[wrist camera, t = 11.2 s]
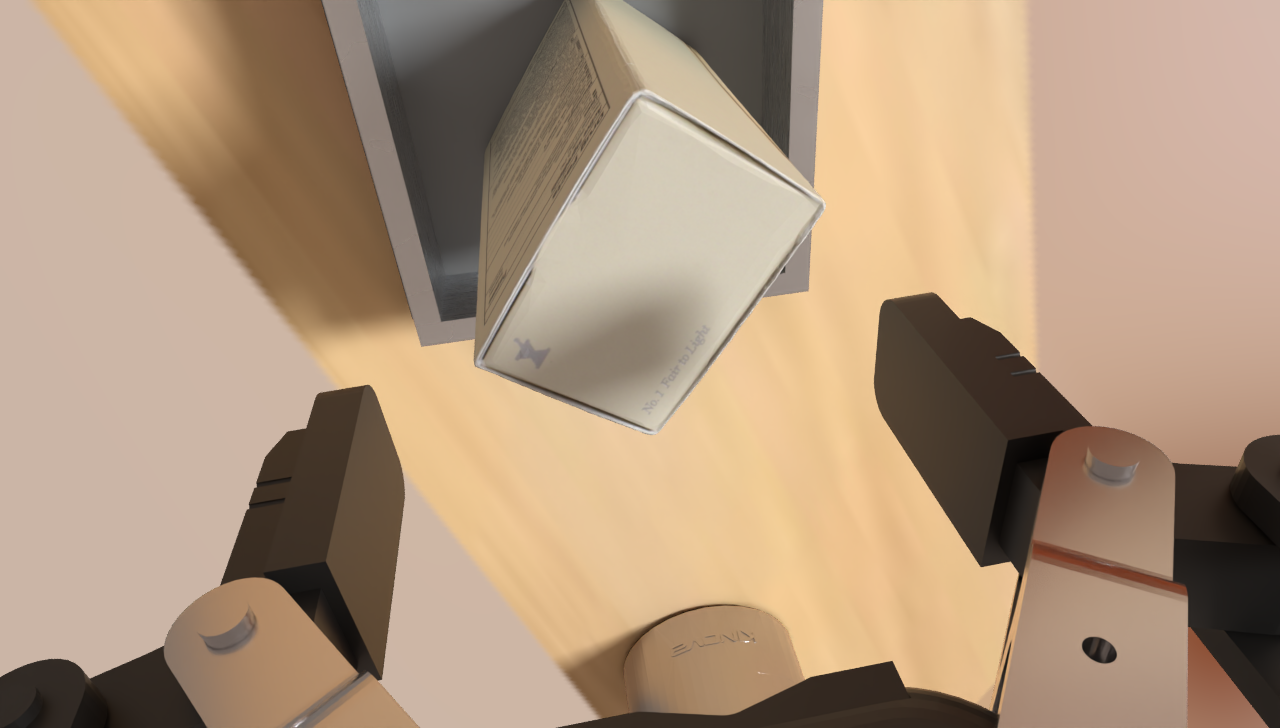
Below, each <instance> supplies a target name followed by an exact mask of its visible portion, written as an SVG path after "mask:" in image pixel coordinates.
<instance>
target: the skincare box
mask: <svg viewBox="0 0 1280 728" xmlns="http://www.w3.org/2000/svg"><path fill="white" fill-rule="evenodd" d="M825 207H826V203H825V201H824V200H823V199H822V197H821V196H820V195H819V194H818V193H817V192H816V191H815V190H814V188H813V187H812V186H811V185H810V183H809V182H808V181H807V180H806V179H805V178H804V177H803V176H802V174H801V173H800V172H799V171H798V170H797V169H796V168H795V166H794V165H793V164H792V163H791V161H790V160H789V159H788V158H787V157H786V155H785V154H784V153H783V152H782V151H781V150H780V148H779V147H778V146H777V145H776V144H775V142H774V141H773V140H772V139H771V138H770V137H769V136H768V134H767V133H766V132H765V131H764V130H763V128H762V127H761V126H760V125H759V124H758V123H757V122H756V120H755V119H754V118H753V117H752V116H751V115H750V114H749V112H748V111H747V110H746V109H745V107H744V106H743V105H742V104H741V103H740V102H739V101H738V100H737V98H736V97H735V96H734V95H733V94H732V92H731V91H730V90H729V89H728V88H727V87H726V85H725V84H724V83H723V82H722V81H721V79H720V78H719V77H718V76H717V75H716V73H715V72H714V71H713V70H712V69H711V68H710V66H709V65H708V64H707V62H706V61H705V60H704V59H703V58H702V56H701V55H700V54H699V53H698V52H697V51H696V50H695V49H694V48H692V47H691V46H689V45H688V44H686V43H685V42H683V41H682V40H681V39H679V38H678V37H676V36H675V35H674V34H672V33H671V32H669V31H668V30H666V29H665V28H663V27H662V26H661V25H659V24H658V23H656V22H655V21H653V20H652V19H650V18H649V17H647V16H645V15H644V14H642V13H641V12H639V11H638V10H636V9H635V8H633V7H632V6H630V5H629V4H627V3H626V2H624V1H623V0H564V2H563V4H562V5H561V7H560V9H559V11H558V12H557V14H556V16H555V18H554V20H553V21H552V23H551V25H550V27H549V29H548V31H547V32H546V34H545V36H544V38H543V40H542V42H541V43H540V45H539V47H538V49H537V51H536V53H535V54H534V56H533V58H532V60H531V62H530V64H529V66H528V68H527V70H526V71H525V73H524V75H523V77H522V79H521V81H520V83H519V85H518V86H517V88H516V90H515V92H514V94H513V96H512V98H511V100H510V102H509V104H508V106H507V108H506V110H505V112H504V114H503V116H502V118H501V120H500V122H499V124H498V126H497V128H496V130H495V132H494V134H493V136H492V138H491V140H490V142H489V144H488V146H487V148H486V150H485V154H484V177H483V194H482V211H481V233H480V237H481V238H480V251H479V269H478V289H477V313H476V326H475V350H474V364H475V366H476V367H478V368H480V369H483V370H486V371H488V372H491V373H494V374H496V375H499V376H500V377H503V378H505V379H507V380H510V381H512V382H515V383H517V384H519V385H522V386H525V387H527V388H530V389H532V390H534V391H536V392H540V393H542V394H544V395H546V396H548V397H551V398H554V399H556V400H559V401H562V402H564V403H567V404H569V405H572V406H574V407H577V408H579V409H582V410H584V411H586V412H588V413H591V414H594V415H596V416H599V417H602V418H605V419H607V420H610V421H613V422H615V423H618V424H621V425H623V426H626V427H629V428H632V429H635V430H637V431H640V432H642V433H645V434H649V435H655V434H657V433H658V432H659V431H660V430H661V429H662V428H663V427H664V425H665V424H666V423H667V422H668V420H669V419H670V418H671V417H672V416H673V415H674V413H675V412H676V411H677V409H678V408H679V407H680V406H681V404H682V403H683V402H684V401H685V400H686V399H687V397H688V396H689V395H690V393H691V392H692V391H693V389H694V388H695V387H696V385H697V384H698V383H699V381H700V380H701V379H702V378H703V376H704V375H705V374H706V373H707V371H708V370H709V368H710V367H711V366H712V364H713V363H714V362H715V360H716V359H717V358H718V357H719V355H720V354H721V353H722V351H723V350H724V349H725V347H726V346H727V345H728V343H729V342H730V341H731V340H732V338H733V337H734V335H735V334H736V332H737V331H738V329H739V328H740V327H741V325H742V324H743V323H744V321H745V320H746V319H747V318H748V316H749V315H750V314H751V313H752V311H753V309H754V308H755V306H756V305H757V304H758V303H759V301H760V300H761V298H762V297H763V296H764V294H765V293H766V292H767V290H768V289H769V288H770V286H771V285H772V284H773V282H774V281H775V280H776V278H777V277H778V275H779V274H780V272H781V271H782V269H783V268H784V266H785V265H786V264H787V262H788V261H789V260H790V258H791V257H792V256H793V254H794V253H795V252H796V250H797V249H798V247H799V246H800V245H801V243H802V242H803V241H804V239H805V238H806V237H807V235H808V234H809V232H810V231H811V229H812V228H813V226H814V225H815V223H816V222H817V220H818V219H819V218H820V216H821V215H822V213H823V212H824V210H825Z"/></svg>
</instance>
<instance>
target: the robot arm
mask: <svg viewBox="0 0 1280 728" xmlns="http://www.w3.org/2000/svg"><path fill="white" fill-rule="evenodd" d="M874 388H875V395H876V400H877V404H878V407H879V410H880V412H881V414H882V416H883V418H884V420H885V421H886V423H887V424H888V426H889V427H890V429H891V430H892V432H893V433H894V435H895V436H896V438H897V440H898V441H899V443H900V444H901V446H902V447H903V449H904V450H905V452H906V453H907V455H908V456H909V458H910V459H911V461H912V463H913V464H914V466H915V467H916V469H917V470H918V472H919V473H920V475H921V476H922V478H923V479H924V481H925V482H926V484H927V486H928V487H929V489H930V490H931V492H932V493H933V495H934V496H935V498H936V499H937V501H938V502H939V504H940V505H941V507H942V509H943V510H944V512H945V513H946V515H947V516H948V518H949V519H950V521H951V522H952V524H953V525H954V527H955V528H956V530H957V532H958V533H959V535H960V536H961V538H962V539H963V541H964V542H965V544H966V545H967V547H968V548H969V550H970V551H971V553H972V555H973V556H974V558H975V559H976V561H977V562H978V564H979V565H980V567H984V566H990V565H995V564H1000V563H1005V562H1010V561H1011V562H1012V564H1013V565H1014V567H1015V568H1016V570H1017V571H1018V572H1019V574H1018V578H1017V582H1016V586H1015V590H1014V595H1013V599H1012V604H1011V609H1010V614H1009V619H1008V623H1007V628H1006V633H1005V638H1004V642H1003V647H1002V652H1001V657H1000V662H999V666H998V671H997V676H996V681H995V686H994V690H993V695H992V699H991V703H990V708H989V710H988V709H986V708H983V707H982V706H979V705H977V704H975V703H972V702H970V701H967V700H964V699H962V698H959V697H956V696H952V695H949V694H945V693H941V692H937V691H932V690H926V689H920V688H910V687H904V684H903V682H902V680H901V678H900V676H899V674H898V672H897V670H896V668H895V665H894V663H893V661H890V662H885V663H880V664H875V665H870V666H865V667H860V668H855V669H849V670H844V671H839V672H834V673H829V674H824V675H819V676H814V677H810V678H808V679H806V680H805V679H804V676H803V673H802V670H801V667H800V665H799V662H798V659H797V656H796V653H795V650H794V648H793V645H792V642H791V639H790V636H789V633H788V631H787V630H786V628H785V627H784V626H783V624H782V623H781V622H780V621H778V620H777V619H776V618H774V617H773V616H772V615H770V614H767V613H765V612H762V611H760V610H758V609H753V608H748V607H743V606H715V607H705V608H701V609H697V610H693V611H689V612H685V613H683V614H680V615H678V616H675V617H672V618H670V619H668V620H666V621H664V622H662V623H661V624H659V625H657V626H655V627H654V628H652V629H651V630H650V631H649V632H647V633H646V634H645V635H643V636H642V637H641V638H640V639H639V640H638V641H637V643H636V644H635V645H634V646H633V647H632V648H631V650H630V652H629V654H628V656H627V658H626V660H625V665H624V670H623V673H624V680H625V687H626V695H627V702H628V709H629V713H628V714H623V715H618V716H613V717H608V718H603V719H598V720H593V721H588V722H583V723H578V724H573V725H568V726H563V727H558V728H1187V670H1188V668H1187V667H1188V664H1187V663H1188V662H1187V661H1188V627H1191V628H1192V630H1193V631H1194V632H1195V633H1196V635H1197V636H1198V637H1199V638H1200V640H1201V641H1202V643H1203V644H1204V645H1205V646H1206V648H1207V649H1208V650H1209V651H1210V653H1211V654H1212V655H1213V657H1214V658H1215V659H1216V660H1217V662H1218V663H1219V664H1220V666H1221V667H1222V668H1223V669H1224V671H1225V672H1226V673H1227V674H1228V676H1229V677H1230V678H1231V680H1232V681H1233V682H1234V684H1235V685H1236V686H1237V687H1238V689H1239V690H1240V691H1241V692H1242V694H1243V695H1244V696H1245V698H1246V699H1247V700H1248V701H1249V703H1250V704H1251V705H1252V707H1253V708H1254V709H1255V710H1256V712H1257V713H1258V714H1259V715H1260V717H1261V718H1262V719H1263V721H1264V722H1265V723H1266V724H1267V726H1268V727H1269V728H1280V435H1272V436H1266V437H1262V438H1259V439H1257V440H1254V441H1253V442H1251V443H1250V444H1249V445H1248V446H1247V447H1246V449H1245V451H1244V453H1243V456H1242V458H1241V460H1240V462H1239V465H1238V467H1231V466H1213V465H1195V464H1178V463H1171V461H1170V460H1169V458H1168V457H1167V456H1166V455H1165V454H1164V453H1163V452H1162V451H1161V450H1160V449H1159V448H1157V447H1156V446H1155V445H1154V444H1152V443H1150V442H1149V441H1146V440H1145V439H1143V438H1141V437H1139V436H1137V435H1135V434H1132V433H1129V432H1126V431H1123V430H1119V429H1115V428H1109V427H1100V426H1092V425H1091V424H1090V423H1089V422H1088V421H1087V420H1086V419H1085V418H1084V417H1083V416H1082V415H1081V414H1080V413H1079V412H1078V411H1077V410H1076V409H1075V408H1074V407H1073V406H1072V405H1071V404H1070V403H1069V402H1068V401H1067V400H1066V399H1065V398H1064V397H1063V396H1062V395H1061V394H1060V393H1059V392H1058V391H1057V389H1055V387H1054V386H1052V385H1051V383H1049V381H1048V380H1047V379H1045V377H1044V376H1043V375H1042V374H1041V373H1040V372H1039V373H1036V368H1035V367H1034V366H1033V365H1032V364H1031V363H1030V362H1029V361H1028V360H1027V359H1026V358H1025V357H1024V356H1020V352H1019V351H1018V350H1017V349H1016V348H1015V347H1014V346H1013V345H1012V344H1011V343H1010V342H1009V341H1008V340H1007V339H1006V338H1005V337H1004V336H1003V335H1002V334H1001V333H1000V332H998V331H996V330H994V329H993V328H991V327H989V326H987V325H985V324H983V323H981V322H979V321H977V320H975V319H973V318H971V317H970V318H964V319H959V318H958V316H957V315H956V314H955V313H954V312H953V311H952V310H951V309H950V308H949V307H948V306H947V305H946V304H945V302H944V301H943V300H942V299H941V298H940V297H939V296H938V295H937V294H935V293H932V292H931V293H925V294H919V295H913V296H907V297H901V298H895V299H889V300H885V301H884V302H883V304H882V306H881V309H880V316H879V327H878V339H877V351H876V363H875V375H874ZM404 491H405V489H404V479H403V473H402V468H401V464H400V461H399V457H398V455H397V452H396V449H395V446H394V444H393V441H392V438H391V435H390V432H389V430H388V427H387V424H386V421H385V418H384V416H383V413H382V410H381V407H380V404H379V402H378V399H377V396H376V394H375V392H374V390H373V388H372V387H371V386H370V385H364V386H358V387H352V388H346V389H340V390H334V391H329V392H323V393H319V394H318V395H317V396H316V398H315V401H314V405H313V408H312V412H311V415H310V418H309V421H308V425H307V428H306V429H300V430H295V431H288V432H287V433H286V434H285V435H284V436H283V437H282V439H281V440H280V441H279V442H278V443H277V444H276V445H275V447H274V448H273V449H272V450H271V451H270V452H269V453H268V455H267V456H266V457H265V459H264V462H263V465H262V468H261V471H260V474H259V476H258V479H257V488H254V491H253V494H252V496H251V500H250V502H249V509H248V510H247V511H246V513H245V516H244V519H243V522H242V525H241V528H240V530H239V533H238V536H237V539H236V542H235V545H234V548H233V550H232V553H231V556H230V559H229V562H228V565H227V567H226V571H225V573H224V576H223V579H222V582H221V585H220V586H219V587H217V588H214V589H213V590H211V591H209V592H207V593H206V594H204V595H202V596H201V597H200V598H198V599H197V600H195V601H194V602H193V603H192V604H191V605H190V606H188V607H187V608H186V609H185V610H184V611H183V612H182V613H181V615H180V616H179V617H178V618H177V620H176V621H175V622H174V623H173V625H172V627H171V629H170V630H169V632H168V634H167V637H166V640H165V645H164V646H162V647H160V648H158V649H156V650H154V651H152V652H150V653H148V654H146V655H143V656H141V657H139V658H136V659H134V660H132V661H130V662H127V663H125V664H123V665H120V666H118V667H116V668H113V669H111V670H109V671H106V672H104V673H102V674H100V675H97V676H95V677H93V678H91V679H89V678H88V676H87V675H86V674H85V673H84V671H83V670H82V669H81V668H80V667H79V666H78V665H76V664H75V663H73V662H71V661H69V660H63V659H48V660H42V661H37V662H34V663H30V664H27V665H25V666H23V667H20V668H17V669H15V670H13V671H11V672H9V673H7V674H5V675H3V676H2V677H0V728H420V727H419V726H418V725H417V724H416V723H415V722H414V721H413V720H412V719H411V717H410V716H409V715H408V714H407V713H406V712H405V711H404V710H403V708H402V707H401V706H400V705H399V704H398V703H397V702H396V701H395V699H393V697H392V696H391V695H390V694H389V693H388V692H387V691H386V689H385V688H384V687H383V686H382V685H381V684H380V683H379V682H378V680H382V675H383V667H384V658H385V650H386V643H387V634H388V627H389V619H390V610H391V603H392V595H393V587H394V580H395V572H396V563H397V556H398V548H399V540H400V531H401V524H402V516H403V507H404V499H405V492H404Z"/></svg>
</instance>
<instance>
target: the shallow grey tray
mask: <svg viewBox="0 0 1280 728" xmlns="http://www.w3.org/2000/svg"><path fill="white" fill-rule="evenodd" d="M322 1H323V5H324V8H325V12H326V15H327V19H328V22H329V26H330V29H331V33H332V36H333V40H334V43H335V47H336V50H337V54H338V57H339V60H340V64H341V67H342V71H343V74H344V78H345V81H346V85H347V88H348V92H349V95H350V99H351V102H352V106H353V109H354V113H355V116H356V120H357V123H358V127H359V130H360V134H361V137H362V141H363V144H364V148H365V151H366V155H367V158H368V162H369V165H370V169H371V172H372V176H373V179H374V183H375V186H376V190H377V193H378V197H379V200H380V204H381V207H382V211H383V214H384V218H385V221H386V225H387V228H388V232H389V235H390V239H391V242H392V246H393V249H394V253H395V256H396V260H397V263H398V267H399V270H400V274H401V277H402V281H403V284H404V288H405V291H406V295H407V298H408V302H409V305H410V309H411V312H412V316H413V319H414V323H415V326H416V329H417V333H418V336H419V340H420V343H421V347H423V346H430V345H437V344H444V343H451V342H458V341H465V340H472V339H475V326H476V313H477V289H478V271H476V272H468V273H461V274H454V275H447V276H446V273H445V269H444V265H443V261H442V257H441V253H440V249H439V245H438V241H437V237H436V233H435V229H434V225H433V221H432V217H431V213H430V209H429V205H428V201H427V197H426V193H425V189H424V185H423V181H422V177H421V173H420V169H419V165H418V161H417V157H416V153H415V149H414V145H413V140H412V136H411V132H410V128H409V124H408V120H407V116H406V112H405V108H404V104H403V100H402V96H401V92H400V88H399V84H398V80H397V76H396V72H395V68H394V64H393V60H392V56H391V52H390V48H389V44H388V40H387V36H386V32H385V28H384V24H383V20H382V16H381V12H380V8H379V4H378V0H322ZM822 14H823V0H763V49H762V128H763V130H764V131H765V132H766V133H767V134H768V136H769V137H770V138H771V139H772V140H773V141H774V142H775V144H776V145H777V146H778V147H779V148H780V150H781V151H782V152H783V153H784V154H785V155H786V157H787V158H788V159H789V160H790V161H791V163H792V164H793V165H794V166H795V168H796V169H797V170H798V171H799V172H800V173H801V174H802V176H803V177H804V178H805V179H806V180H807V181H808V182H809V183H810V185H811V186H812V187H813V188H814V172H815V152H816V132H817V112H818V93H819V73H820V53H821V34H822ZM811 231H812V229H811ZM811 231H810V232H809V234H808V235H807V237H806V238H805V239H804V241H803V242H802V243H801V245H800V246H799V247H798V249H797V250H796V252H795V253H794V254H793V256H792V257H791V258H790V260H789V261H788V262H787V264H786V265H785V266H784V268H783V269H782V271H781V272H780V274H779V275H778V277H777V278H776V280H775V281H774V282H773V284H772V285H771V286H770V288H769V289H768V290H767V292H766V293H765V294H764V296H763V297H770V296H777V295H784V294H791V293H798V292H805V291H808V290H809V270H810V250H811ZM763 297H762V298H763Z"/></svg>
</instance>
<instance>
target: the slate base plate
mask: <svg viewBox="0 0 1280 728" xmlns="http://www.w3.org/2000/svg"><path fill="white" fill-rule="evenodd" d="M623 1H624V2H626V3H627V4H629V5H630V6H632V7H633V8H635V9H636V10H638V11H639V12H641V13H642V14H644V15H645V16H647V17H649V18H650V19H652V20H653V21H655V22H656V23H658V24H659V25H661V26H662V27H663V28H665V29H666V30H668V31H669V32H671V33H672V34H674V35H675V36H676V37H678V38H679V39H681V40H682V41H683V42H685V43H686V44H688V45H689V46H691V47H692V48H694V49H695V50H696V51H697V52H698V53H699V54H700V55H701V56H702V58H703V59H704V60H705V61H706V62H707V64H708V65H709V66H710V68H711V69H712V70H713V71H714V72H715V73H716V75H717V76H718V77H719V78H720V79H721V81H722V82H723V83H724V84H725V85H726V87H727V88H728V89H729V90H730V91H731V92H732V94H733V95H734V96H735V97H736V98H737V100H738V101H739V102H740V103H741V104H742V105H743V106H744V107H745V109H746V110H747V111H748V112H749V114H750V115H751V116H752V117H753V118H754V119H755V120H756V122H757V123H758V124H759V125H760V126H761V127H762V49H763V0H623ZM321 2H322V5H323V1H322V0H321ZM563 2H564V0H378V4H379V8H380V12H381V16H382V20H383V24H384V28H385V32H386V36H387V40H388V44H389V48H390V52H391V56H392V60H393V64H394V68H395V72H396V76H397V80H398V84H399V88H400V92H401V96H402V100H403V104H404V108H405V112H406V116H407V120H408V124H409V128H410V132H411V136H412V140H413V145H414V149H415V153H416V157H417V161H418V165H419V169H420V173H421V177H422V181H423V185H424V189H425V193H426V197H427V201H428V205H429V209H430V213H431V217H432V221H433V225H434V229H435V233H436V237H437V241H438V245H439V249H440V253H441V257H442V261H443V265H444V269H445V273H446V276H447V275H454V274H461V273H468V272H476V271H478V269H479V251H480V238H481V237H480V233H481V211H482V194H483V177H484V154H485V150H486V148H487V146H488V144H489V142H490V140H491V138H492V136H493V134H494V132H495V130H496V128H497V126H498V124H499V122H500V120H501V118H502V116H503V114H504V112H505V110H506V108H507V106H508V104H509V102H510V100H511V98H512V96H513V94H514V92H515V90H516V88H517V86H518V85H519V83H520V81H521V79H522V77H523V75H524V73H525V71H526V70H527V68H528V66H529V64H530V62H531V60H532V58H533V56H534V54H535V53H536V51H537V49H538V47H539V45H540V43H541V42H542V40H543V38H544V36H545V34H546V32H547V31H548V29H549V27H550V25H551V23H552V21H553V20H554V18H555V16H556V14H557V12H558V11H559V9H560V7H561V5H562V4H563ZM323 9H324V12H325V8H324V5H323ZM325 16H326V19H327V15H326V12H325ZM327 23H328V26H329V22H328V19H327ZM329 30H330V33H331V29H330V26H329ZM331 37H332V40H333V36H332V33H331ZM333 44H334V47H335V43H334V40H333ZM335 51H336V54H337V50H336V47H335ZM337 57H338V54H337ZM338 61H339V64H340V60H339V57H338ZM340 68H341V71H342V67H341V64H340ZM342 75H343V78H344V74H343V71H342ZM344 82H345V85H346V81H345V78H344ZM346 89H347V92H348V88H347V85H346ZM348 96H349V99H350V95H349V92H348ZM350 103H351V106H352V102H351V99H350ZM352 110H353V113H354V109H353V106H352ZM354 117H355V120H356V116H355V113H354ZM356 124H357V127H358V123H357V120H356ZM358 131H359V134H360V130H359V127H358ZM360 138H361V141H362V137H361V134H360ZM362 145H363V148H364V144H363V141H362ZM364 152H365V155H366V151H365V148H364ZM366 159H367V162H368V158H367V155H366ZM368 165H369V162H368ZM369 169H370V165H369ZM370 172H371V169H370ZM371 176H372V172H371ZM372 179H373V176H372ZM373 183H374V179H373ZM374 186H375V183H374ZM375 190H376V186H375ZM376 193H377V190H376ZM377 197H378V193H377ZM378 200H379V197H378ZM379 204H380V200H379ZM380 207H381V204H380ZM381 211H382V207H381ZM382 214H383V211H382ZM383 218H384V214H383ZM384 221H385V218H384ZM385 225H386V221H385ZM386 228H387V225H386ZM387 232H388V228H387ZM388 235H389V232H388ZM389 239H390V235H389ZM390 242H391V239H390ZM391 246H392V242H391ZM392 249H393V246H392ZM393 253H394V249H393ZM394 256H395V253H394ZM395 260H396V256H395ZM396 263H397V260H396ZM397 267H398V263H397ZM398 270H399V267H398ZM399 273H400V270H399ZM400 277H401V274H400ZM401 280H402V277H401ZM402 284H403V281H402ZM403 287H404V284H403ZM404 291H405V288H404ZM405 294H406V291H405ZM406 298H407V295H406ZM407 301H408V298H407ZM408 305H409V302H408ZM409 308H410V305H409ZM410 312H411V309H410ZM411 315H412V312H411ZM412 319H413V316H412Z"/></svg>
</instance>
